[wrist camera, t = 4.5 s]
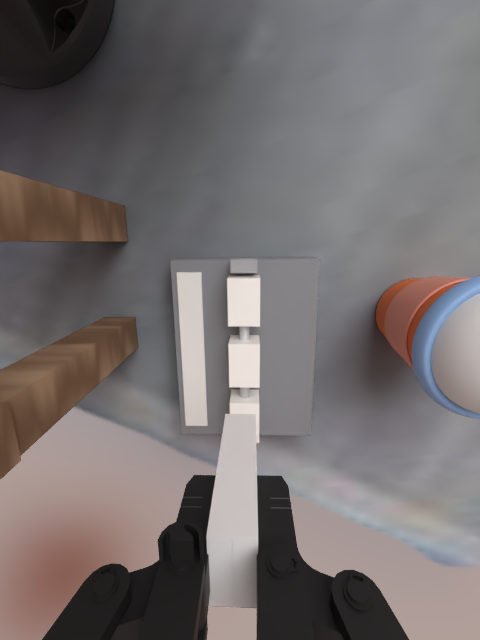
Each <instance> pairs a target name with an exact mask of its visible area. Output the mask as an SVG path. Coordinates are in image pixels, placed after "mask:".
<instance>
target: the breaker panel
mask: <svg viewBox="0 0 480 640" xmlns="http://www.w3.org/2000/svg"><path fill="white" fill-rule="evenodd" d="M170 264H171V280H172V295H173V311H174V326H175V342H176V357H177V373H178V389H179V404H180V420H181V434H222V433H223V426H224V420H225V414H230V397H231V389H240V387H229V349H228V344H229V339H230V335H239V326H228V298H227V278H228V276H229V275H260V327H251V326H249V335H259V339H260V388H250V390H259V435H298V436H311V419H312V400H313V382H314V363H315V345H316V326H317V307H318V289H319V270H320V259H319V258H315V257H257V258H177V259H172V260H170ZM256 450H257V443H256Z"/></svg>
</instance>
